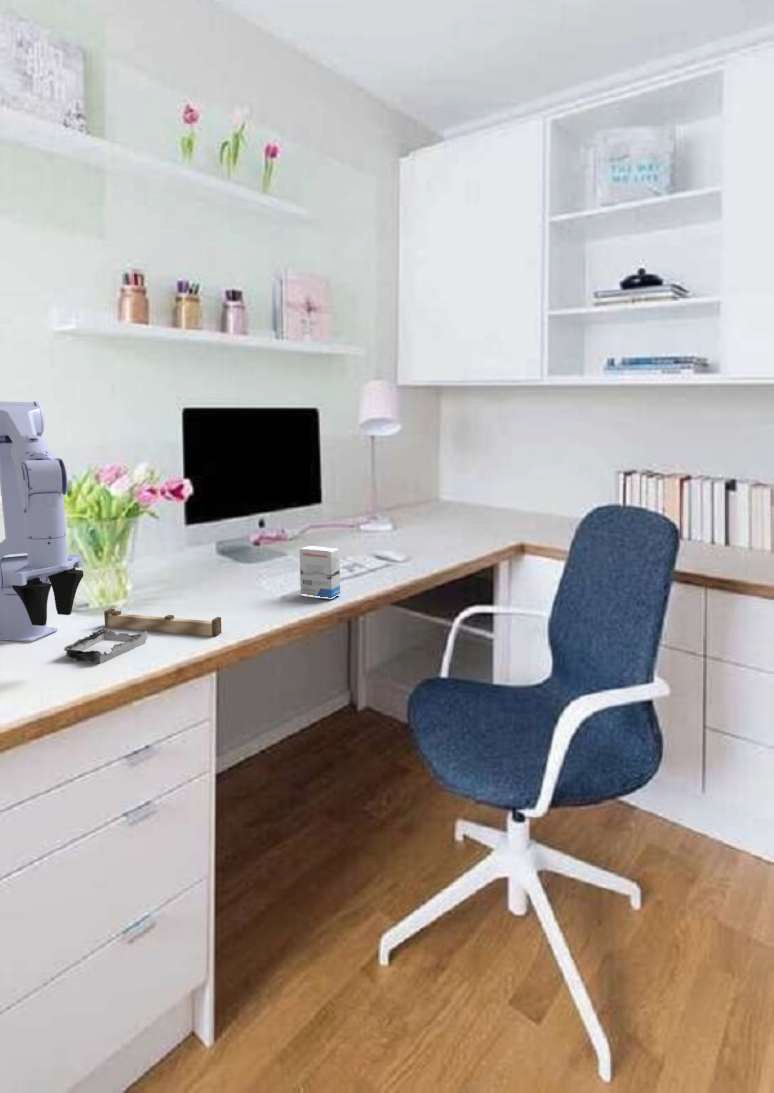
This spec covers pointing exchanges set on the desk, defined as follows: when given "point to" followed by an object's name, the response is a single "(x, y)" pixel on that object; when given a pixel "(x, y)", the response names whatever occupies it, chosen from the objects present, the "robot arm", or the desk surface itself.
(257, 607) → the desk surface
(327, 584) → the ink box
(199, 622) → the ledge
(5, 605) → the robot arm
